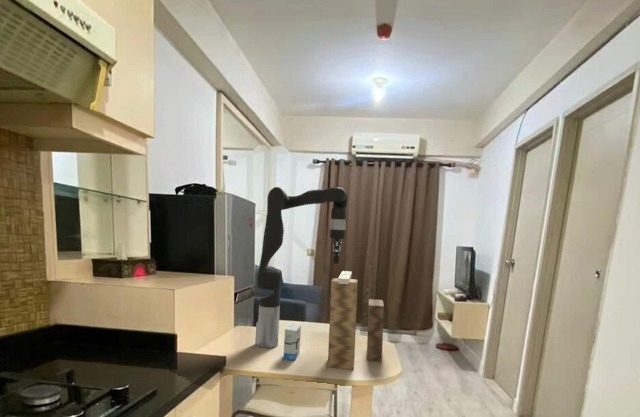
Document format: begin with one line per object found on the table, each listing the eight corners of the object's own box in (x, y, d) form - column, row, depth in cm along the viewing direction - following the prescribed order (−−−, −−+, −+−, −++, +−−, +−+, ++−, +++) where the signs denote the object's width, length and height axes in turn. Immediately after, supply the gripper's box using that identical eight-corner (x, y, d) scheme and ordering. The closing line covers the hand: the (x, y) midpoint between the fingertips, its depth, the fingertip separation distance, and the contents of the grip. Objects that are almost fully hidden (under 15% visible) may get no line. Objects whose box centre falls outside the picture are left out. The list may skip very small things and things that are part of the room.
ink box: (294, 361, 133) (296, 330, 133) (282, 359, 134) (284, 329, 134) (300, 353, 141) (301, 324, 142) (288, 351, 142) (290, 323, 143)
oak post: (326, 367, 128) (330, 282, 130) (330, 356, 139) (333, 277, 141) (353, 369, 127) (356, 283, 128) (354, 358, 138) (357, 279, 139)
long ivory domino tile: (337, 283, 128) (338, 277, 128) (342, 275, 149) (342, 270, 149) (348, 284, 127) (348, 278, 127) (351, 276, 149) (351, 271, 149)
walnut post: (366, 360, 137) (368, 305, 138) (367, 349, 149) (368, 299, 150) (381, 361, 136) (383, 306, 137) (380, 350, 148) (382, 300, 149)
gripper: (345, 229, 156) (344, 264, 155) (345, 229, 170) (344, 261, 170) (329, 228, 157) (327, 263, 156) (330, 228, 171) (329, 260, 170)
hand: (336, 262), depth 163 cm, fingers open, 8 cm apart
